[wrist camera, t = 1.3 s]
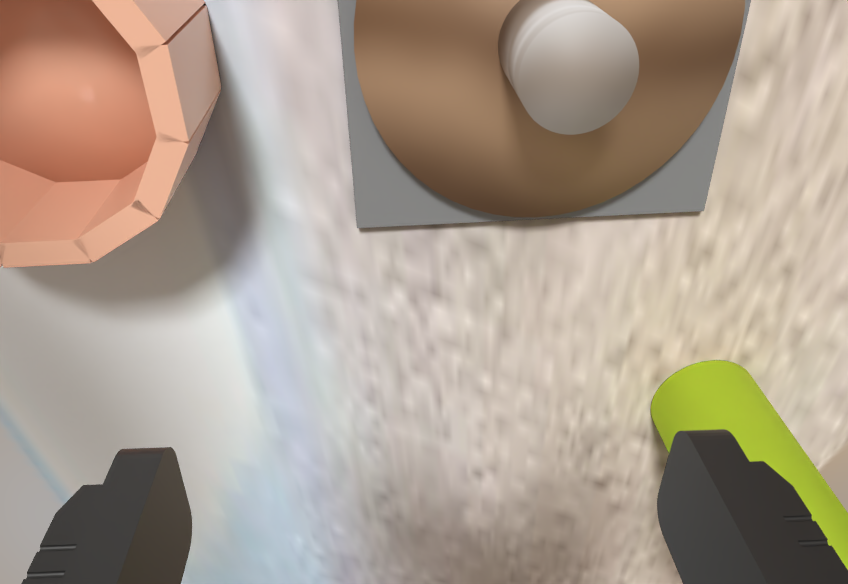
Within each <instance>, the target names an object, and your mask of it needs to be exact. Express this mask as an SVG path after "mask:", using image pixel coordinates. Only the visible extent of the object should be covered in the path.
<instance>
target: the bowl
mask: <svg viewBox="0 0 848 584" xmlns="http://www.w3.org/2000/svg"><path fill="white" fill-rule="evenodd" d="M204 3H205V2H204V0H0V267H1V266H2V265H3V267H4V268H7V267H27V266H47V265H66V264H86V263H91V262H92V261H93V262H95V261H97V260H98V259H100V258H101V257H103V256H104V255H106V254H108V253H109V252H111V251H112V250H114V249H115V248H117V247H118V246H120V245H122V244H123V243H125V242H126V241H128V240H129V239H131V238H132V237H134V236H136V235H137V234H139V233H140V232H142V231H143V230H145V229H146V228H148V227H150V226H151V225H153V224H154V223H156V222H157V221H159V219H160V218H161V216H162V214H163V213H164V211H165V209H166V207H167V205H168V204H169V202H170V200H171V198H172V196H173V195H174V193H175V191H176V189H177V187H178V186H179V184H180V182H181V180H182V178H183V177H184V175H185V173H186V171H187V170H188V168H189V166H190V164H191V162H192V161H193V159H194V157H195V155H196V153H197V150H198V148H199V145H200V143H201V140H202V138H203V135H204V133H205V130H206V127H207V125H208V122H209V120H210V117H211V115H212V112H213V110H214V107H215V104H216V102H217V99H218V97H219V94H220V92H221V82H220V76H219V71H218V65H217V60H216V54H215V49H214V44H213V38H212V33H211V27H210V22H209V16H208V11H207V6H202V5H203V4H204Z"/></svg>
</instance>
